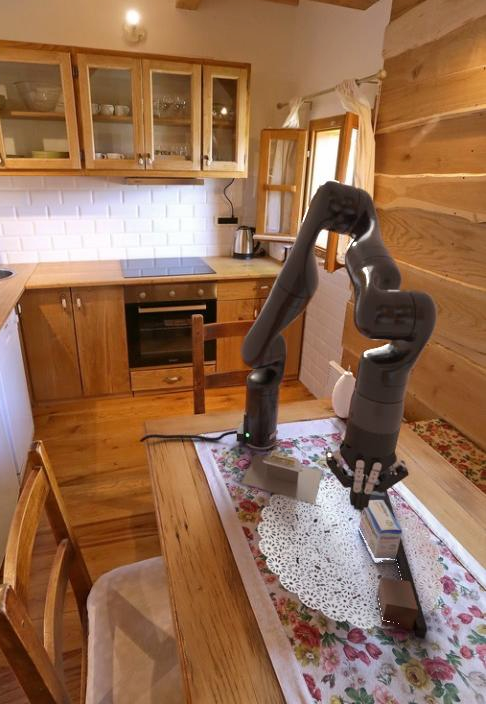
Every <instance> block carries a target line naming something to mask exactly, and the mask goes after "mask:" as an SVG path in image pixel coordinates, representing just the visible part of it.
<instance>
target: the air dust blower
mask: <svg viewBox="0 0 486 704" xmlns="http://www.w3.org/2000/svg"><path fill="white" fill-rule="evenodd" d="M355 381H356V378H355V377H354V374H353V372H351V365H348V370H347V371H344V373H343V375H341V376H340V377H339V379H338V380H337V382H336V383H335V385H334V388H333V390H332V394H331V406H332V409H333V412H334V414H335V415H336V416H338V417H339V418H341V419H348V413H349V407H350V401H351V396H352V393H353V390H354V387H355Z"/></svg>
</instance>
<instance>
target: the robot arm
mask: <svg viewBox="0 0 486 704" xmlns="http://www.w3.org/2000/svg"><path fill="white" fill-rule="evenodd" d="M380 225H381V224H380V221H379V217H378V213H377V210H376V206H375V203H374V200H373V198H372V196H371V194H370V193H369V192H368V191H367V190H365V189H363V188H360V187H358V186H354V185H350V184H347V183H345V182H341V181H337V180H333V179H325V180H323V181H321V183H320V184H319V185H318V187H317V188H316V190H315V191H314V193H313V195H312V197H311V199H310V202H309V204H308V207H307V209H306V212H305V214H304V216H303V220H302V222H301V225H300V228H299V231H298V232H297V235H296V237H295V239H294V242H293V245H292V247H291V249H290V251H289V253H288V255H287V258H286V260H285V261H284V263H283V265H282V267H281V269H280V271H279V272H278V275H277V277H276V279H275V281H274V283H273V285H272V287H271V290H270V292H269V295H268V296H267V298H266V300H265V302H264V304H263V306H262V308H261V310H260V313H258V316H257V317H256V319H255V321H254V322H253V324H252V326H251V327H250V329H249V331H248V332H247V334H246V335H245V337H244V338H243V340H242V343H241V349H240V355H241V359H242V362H243V364H244V365H245V366H246V367H247V368H248V369H251V370H252V371H251V372H249V374H248V375H247V377H246V382H245V401H244V413H243V422H238V427H237V429H236V430H230V431H226V432H223V433H222V434H221V435H219V436H217V437H207V436H202V435H196V434H157V433H156V434H154V433H153V434H147V435H145V436H143V437H141V438H140V440H139V442H140V443H142V442H145V441H146V440H147V439H151V438H152V439H153V438H157V439H158V438H160V439H198V440H203V441H208V442H209V441H211V442H215V441H216V442H217V441H220V440H222V439H224V438H225V437H227V436H230V435H231V436H232V435H236V440H235V441H236V442H238V443H242V445H243V446H247V447H248V448H250V449H253V450H256V451H266V450H270V449H273V448H274V447H275V445H276V443H277V435H279V429H278V420H279V419H278V417H279V404H280V392H281V385H282V383H283V381H284V379H285V371H286V363H287V356H288V355H287V354H288V347H287V342H286V339H285V337H284V335H283V334H282V332H284V330H285V329H287V328H288V327H289V326H290V325H291V324H292V323H293V322H295V321H296V320H297V319H298V318H299V317H300V316H301V315H302V314H303V313H304V312H305V311H306V310H307V308H308V307H309V305H310V303H311V301H312V299H313V298H314V296H315V294H316V292H317V291H318V288H319V284H320V278H319V270H318V266H317V257H316V243H317V241H318V238H319V236H320V234H321V232H322V231H323V230H324V231H327V232H331V233H334V234H338V235H341V236H349V237H350V238H351V239H352V240H351V241H350V243H349V244H348V246H347V248H346V250H345V254H344V265H345V271H346V272H347V275H348V278H349V281H350V283H351V285H352V287H353V297H354V300H353V301H354V304H353V313H352V322H353V326H354V328H355V330H356V331H357V333H358V334H360V335H361V336H362V337H364V338H365V339H367V340H372V341H389V342H388V343H387V344H385V345H383V346H379V347H376V348H371V349H368V350H366V351H364V352H362V354H361V355H360V357H359V359H358V363H357V368H356V369H357V370H356V375H355V387H354V390H353V393H352V396H351V401H350V407H349V413H348V417H347V418H346V419H347V421H346V424H347V425H346V424H345V429H346V431H345V430H344V431H345V437H344V441H343V442H341V443H340V445H339V447H338V449H336V450H334V451H333V450H329V449H328V450H326V451H325V463H326V465H327V467H328V468H329V469H330V471H331V472H332V473H333V476H334V477H335V478H336V479H337V481H338V482H339V483H340V485H341V486H342V487H343V488H344V489H348V488H349V489H350V490H349V491H350V492H349V497H348V498H349V503H350V506H353V510H354V511H355V510H357V511H360V510H362V511H363V510H364V508H367V507H368V505H369V500H370V495H371V493H372V492H374V491H377V492H379V493H383V492H384V491H386V490H387V491H388V490H389V489H390V488H392V487H393V486H395V485H396V484H398V483H399V482H401V481H402V480H404V479H405V478H407V477H409V474H410V473H409V470H408V467H407V465H406V462H405V461H404V460H402V459H400V460H399V459H398V456H397V453H396V449H397V445H398V440H399V436H400V433H401V432H400V431H401V427H402V424H403V421H404V412H405V399H406V394H407V390H408V385H409V380H410V375H411V372H412V370H413V369H414V367H415V365H416V364H417V362H418V360H419V358H420V356H421V355H422V353H423V351H424V349H425V348H426V346H427V344H428V343H429V341H430V339H431V337H432V336H433V333H434V332H435V329H436V325H437V321H438V308H437V305H436V302H435V300H434V298H433V297H432V296H431V295H430V294H429V293H428V292H427V291H425V290H420V289H400V288H401V286H402V283H403V276H402V272H401V270H400V268H399V266H398V264H397V262H396V260H395V259H394V258H393V256H392V254H391V252H390V250H389V248H388V247H387V245H386V243H385V240H384V237H383V234H382V229H381V226H380ZM342 459H343V461H344V462H345V464H346V465H347V467H348V468H349V470H350V471H351V475H350V474H349V473H348V471H347V469H346V468H345V467H344V466H343V464H342ZM362 511H361V512H362Z"/></svg>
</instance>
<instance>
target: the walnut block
mask: <svg viewBox="0 0 486 704" xmlns="http://www.w3.org/2000/svg"><path fill="white" fill-rule="evenodd" d="M377 593H378V595H377ZM378 598H379V600H378ZM376 602H377V608H378V613H379V617H380V624H381V625H383V626H388V627H393V628H398V629H402V630H403V629H404V630H408V631H413V627H414V623H415V619H416V616H417V612H418V608H417V604H416V601H415V597H414V594H413V590H412V586H411V583H410V582H409V581H403V580H400V579H397V578H391V577H385V576H380V577H379V583H378V587H377V592H376ZM379 603H380V605H379ZM380 608H381V610H380ZM381 612H382V615H381ZM382 617H383V620H386V621H383V620H382ZM387 621H390V622H387ZM393 622H394V623H393ZM398 623H399V624H398Z"/></svg>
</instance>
